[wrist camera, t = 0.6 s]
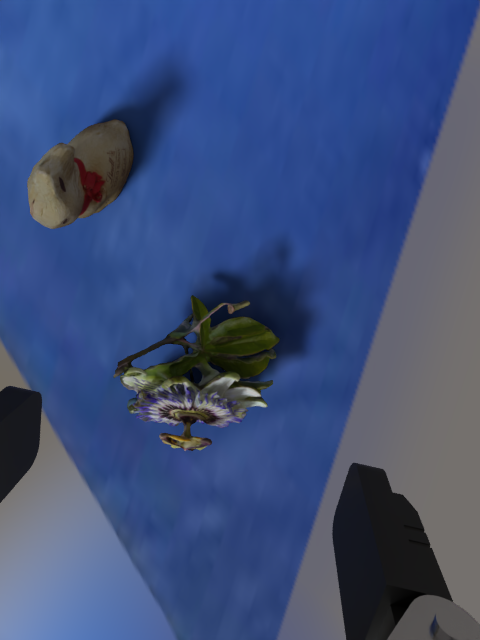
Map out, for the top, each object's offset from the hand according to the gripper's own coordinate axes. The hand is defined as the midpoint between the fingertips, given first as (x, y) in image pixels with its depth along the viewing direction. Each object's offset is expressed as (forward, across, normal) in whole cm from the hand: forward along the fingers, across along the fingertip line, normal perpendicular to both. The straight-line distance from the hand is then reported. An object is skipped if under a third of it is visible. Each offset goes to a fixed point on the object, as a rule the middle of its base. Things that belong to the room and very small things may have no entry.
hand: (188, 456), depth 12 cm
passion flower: (+27, +3, +9) cm, 28 cm away
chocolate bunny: (+27, +13, -4) cm, 31 cm away
